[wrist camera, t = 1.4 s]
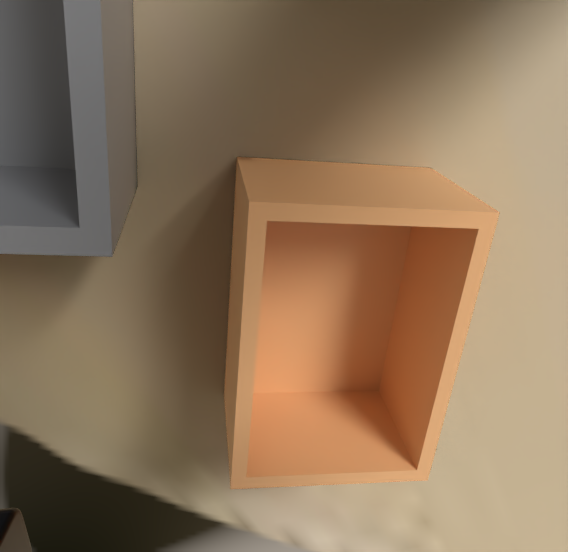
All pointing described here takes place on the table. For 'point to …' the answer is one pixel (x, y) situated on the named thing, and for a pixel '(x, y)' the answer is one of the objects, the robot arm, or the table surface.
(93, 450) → the table surface
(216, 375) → the table surface
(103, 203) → the grey crate
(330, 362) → the orange crate
